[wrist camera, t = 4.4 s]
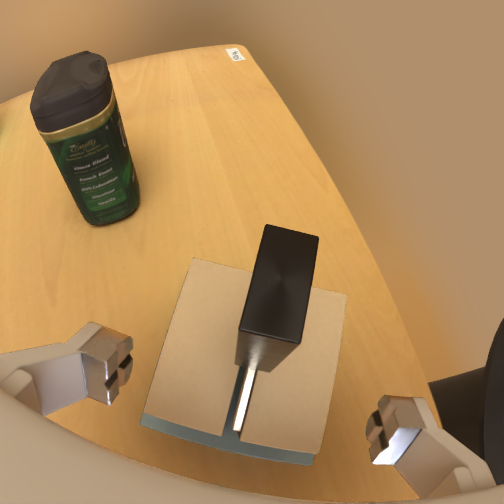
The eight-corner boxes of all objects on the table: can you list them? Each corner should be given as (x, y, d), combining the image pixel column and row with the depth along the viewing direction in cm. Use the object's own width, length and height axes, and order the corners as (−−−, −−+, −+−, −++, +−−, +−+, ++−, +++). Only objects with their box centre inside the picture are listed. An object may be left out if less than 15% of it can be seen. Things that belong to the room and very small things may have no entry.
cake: (188, 273, 33) (177, 229, 25) (339, 310, 32) (372, 276, 24) (141, 424, 25) (109, 427, 18) (309, 464, 24) (339, 482, 17)
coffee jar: (147, 215, 36) (106, 77, 19) (85, 235, 34) (15, 113, 17) (135, 160, 40) (105, 36, 23) (81, 177, 38) (33, 63, 22)
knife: (255, 285, 23) (282, 155, 12) (280, 291, 23) (328, 167, 12) (220, 421, 19) (208, 441, 7) (247, 427, 18) (275, 455, 7)
